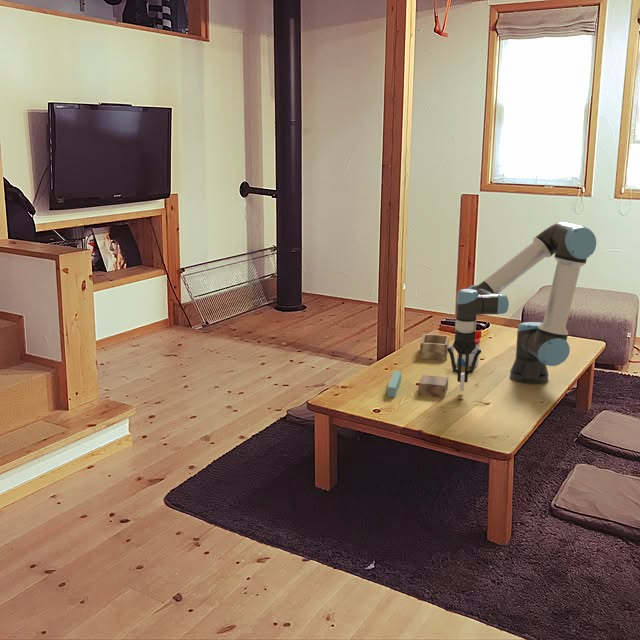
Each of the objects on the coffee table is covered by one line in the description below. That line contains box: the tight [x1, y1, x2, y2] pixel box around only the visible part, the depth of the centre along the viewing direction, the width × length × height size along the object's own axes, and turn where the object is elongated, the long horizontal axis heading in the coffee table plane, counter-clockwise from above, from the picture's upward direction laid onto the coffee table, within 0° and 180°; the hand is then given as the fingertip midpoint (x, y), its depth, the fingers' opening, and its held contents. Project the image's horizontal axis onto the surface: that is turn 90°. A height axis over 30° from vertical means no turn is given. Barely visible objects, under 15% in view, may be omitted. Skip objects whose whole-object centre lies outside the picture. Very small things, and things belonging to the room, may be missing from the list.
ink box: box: [456, 330, 481, 368], centre depth 335 cm, size 8×5×15 cm, turn 68°
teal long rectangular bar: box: [386, 370, 402, 399], centre depth 305 cm, size 3×20×4 cm, turn 168°
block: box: [417, 374, 449, 398], centre depth 302 cm, size 10×10×5 cm
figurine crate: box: [419, 333, 450, 361], centre depth 350 cm, size 12×16×7 cm
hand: (461, 389), depth 300 cm, fingers closed
